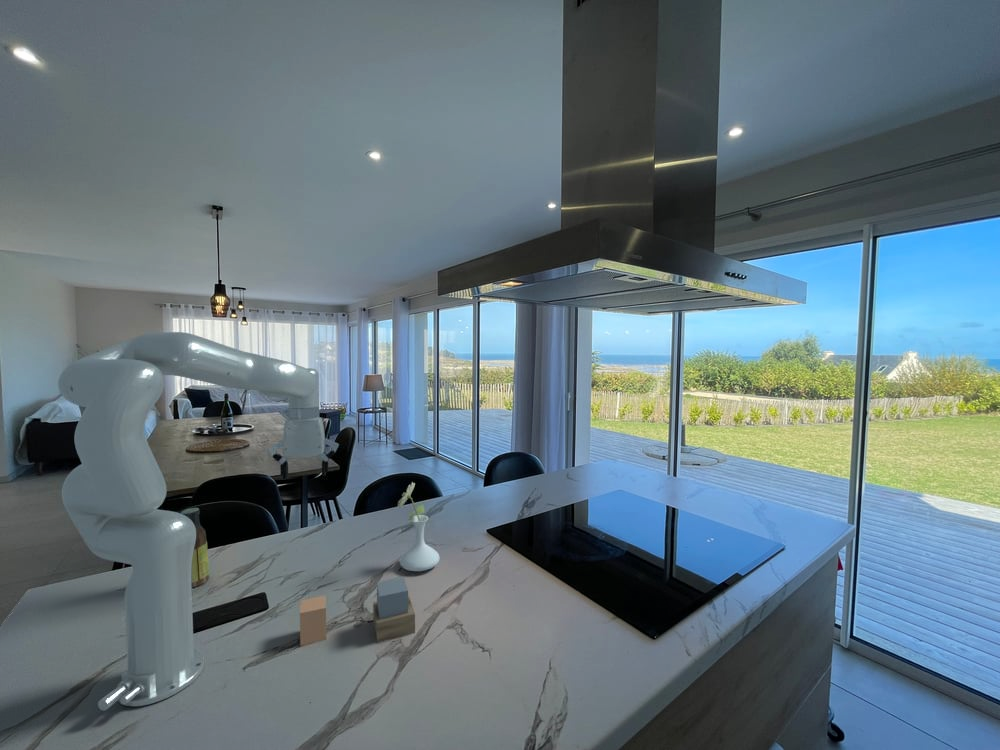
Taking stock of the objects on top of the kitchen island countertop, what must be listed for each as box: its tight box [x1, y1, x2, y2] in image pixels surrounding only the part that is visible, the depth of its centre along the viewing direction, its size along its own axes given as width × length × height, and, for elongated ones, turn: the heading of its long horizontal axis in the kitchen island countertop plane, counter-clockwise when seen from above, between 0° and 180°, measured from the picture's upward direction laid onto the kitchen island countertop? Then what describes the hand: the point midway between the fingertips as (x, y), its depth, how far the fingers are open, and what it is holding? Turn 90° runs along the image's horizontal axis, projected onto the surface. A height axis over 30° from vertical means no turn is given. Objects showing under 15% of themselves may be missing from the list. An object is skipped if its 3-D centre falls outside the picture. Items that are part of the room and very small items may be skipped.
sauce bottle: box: [180, 507, 210, 588], centre depth 109 cm, size 6×6×20 cm
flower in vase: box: [397, 481, 441, 572], centre depth 118 cm, size 13×11×25 cm
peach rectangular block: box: [299, 594, 327, 646], centre depth 89 cm, size 5×5×7 cm
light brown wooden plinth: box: [372, 594, 416, 643], centre depth 92 cm, size 8×8×4 cm
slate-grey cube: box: [376, 576, 409, 619], centre depth 92 cm, size 6×6×5 cm
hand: (305, 476), depth 113 cm, fingers open, 9 cm apart
